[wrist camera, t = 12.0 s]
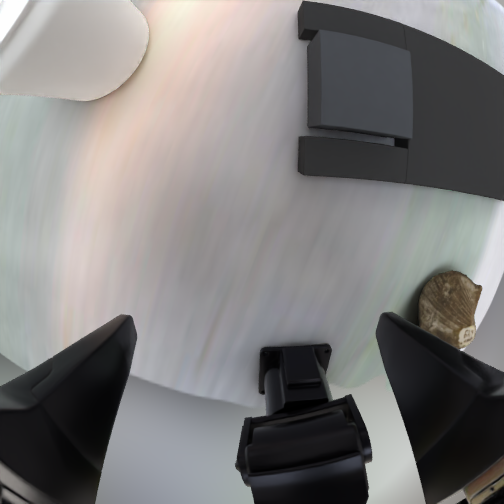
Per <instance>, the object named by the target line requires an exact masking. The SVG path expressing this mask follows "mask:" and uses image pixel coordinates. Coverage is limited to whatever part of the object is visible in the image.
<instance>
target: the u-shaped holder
mask: <svg viewBox="0 0 504 504" xmlns="http://www.w3.org/2000/svg"><path fill="white" fill-rule="evenodd" d="M319 30H327V31H333V32H338V33H343V34H348V35H353V36H358V37H362V38H366V39H370V40H374V41H378V42H381V43H385V44H388V45H392V46H395V47H398V48H401V49H404V50H407V51H410V55H411V67H412V85H413V135H412V139H405V138H395V147H394V146H388V145H382V144H375V143H368V142H361V141H353V140H344V139H335V138H324V137H311V136H300V137H299V154H298V172H300V173H301V174H303V175H308V176H327V177H342V178H355V179H367V180H377V181H387V182H396V183H404V184H413V185H420V186H427V187H434V188H440V189H446V190H452V191H458V192H464V193H469V194H474V195H479V196H484V197H489V198H494V199H498V200H503V201H504V75H503V74H501V73H500V72H498V71H497V70H495V69H493V68H492V67H490V66H489V65H487V64H486V63H484V62H482V61H481V60H479V59H477V58H475V57H474V56H472V55H470V54H468V53H467V52H465V51H463V50H461V49H459V48H457V47H455V46H453V45H451V44H449V43H447V42H445V41H443V40H441V39H438V38H436V37H434V36H432V35H429V34H427V33H425V32H422V31H420V30H417V29H415V28H412V27H409V26H407V25H403V24H402V23H399V22H396V21H393V20H390V19H387V18H383V17H380V16H377V15H373V14H369V13H366V12H362V11H358V10H354V9H349V8H345V7H340V6H335V5H329V4H323V3H317V2H310V1H303V2H302V4H301V6H300V8H299V11H298V33H299V39H306V40H313V38H314V37H315V35H316V34H317V33H318V31H319Z"/></svg>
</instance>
